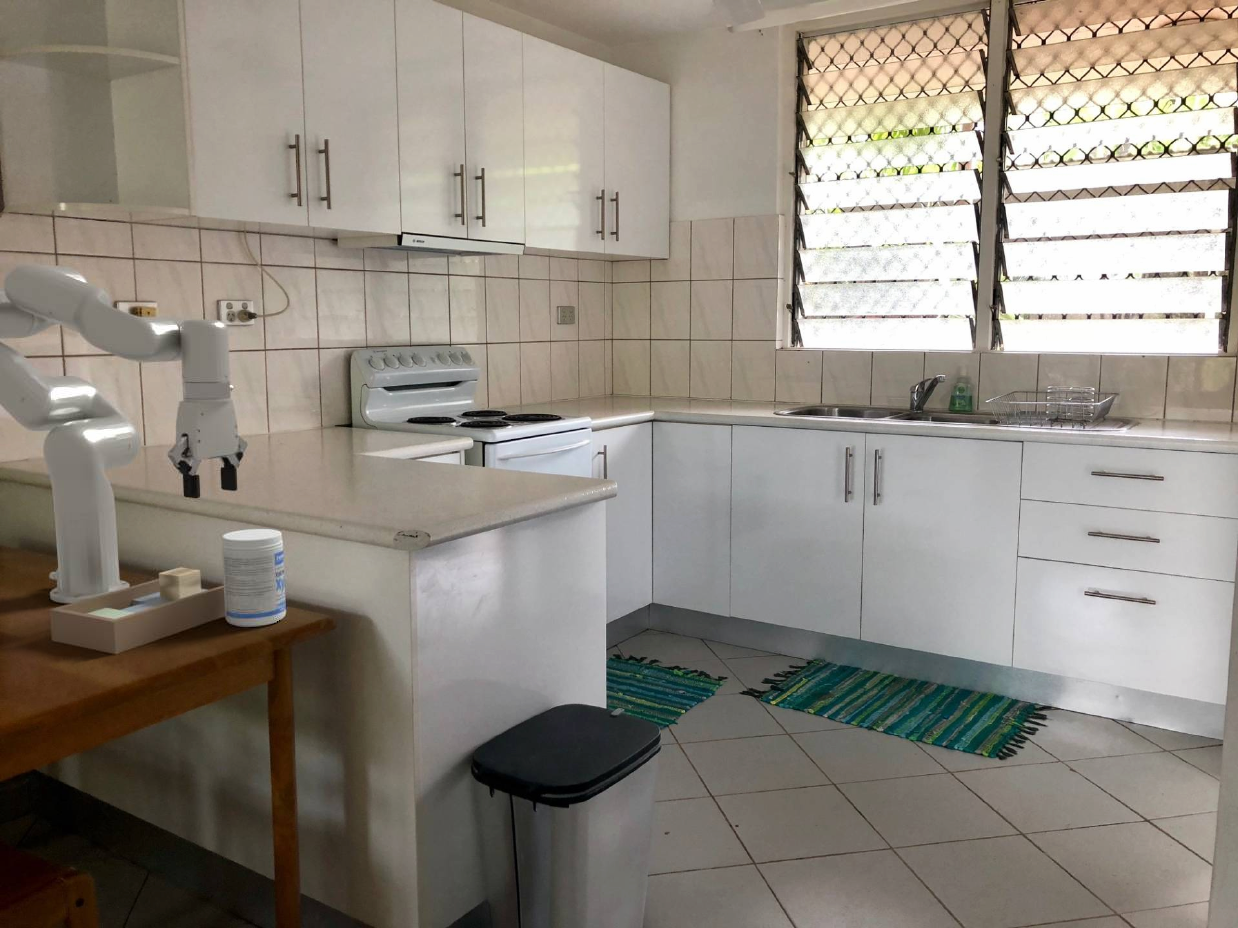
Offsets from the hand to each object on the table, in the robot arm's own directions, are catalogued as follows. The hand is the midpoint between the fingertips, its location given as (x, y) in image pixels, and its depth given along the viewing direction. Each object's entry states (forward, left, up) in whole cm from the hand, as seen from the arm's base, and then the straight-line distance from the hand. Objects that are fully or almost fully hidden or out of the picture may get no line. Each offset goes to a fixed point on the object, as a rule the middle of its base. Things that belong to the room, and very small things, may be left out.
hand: (211, 493), depth 168 cm
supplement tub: (+13, -4, -20) cm, 24 cm away
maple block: (0, -7, -17) cm, 18 cm away
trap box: (0, -14, -20) cm, 24 cm away
